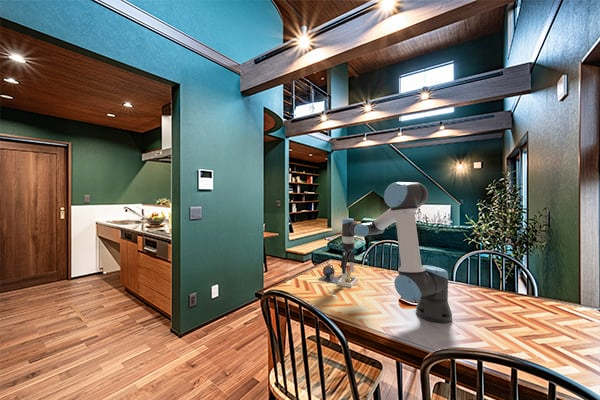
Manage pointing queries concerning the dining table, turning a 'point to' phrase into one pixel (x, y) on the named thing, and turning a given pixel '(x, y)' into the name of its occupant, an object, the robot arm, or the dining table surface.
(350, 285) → the tray
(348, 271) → the lock pin
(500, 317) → the dining table surface
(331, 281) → the pulley block
